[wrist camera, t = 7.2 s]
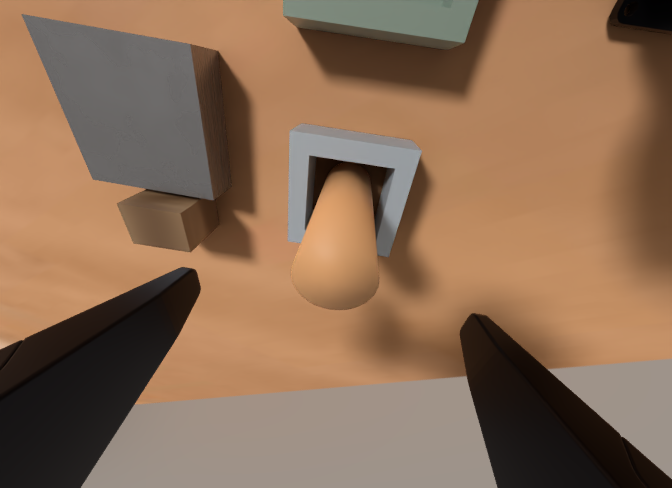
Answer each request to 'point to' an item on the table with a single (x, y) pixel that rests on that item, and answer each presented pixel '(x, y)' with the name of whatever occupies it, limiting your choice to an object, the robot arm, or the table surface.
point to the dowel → (339, 243)
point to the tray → (388, 19)
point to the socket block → (352, 148)
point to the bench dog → (168, 219)
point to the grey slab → (139, 106)
